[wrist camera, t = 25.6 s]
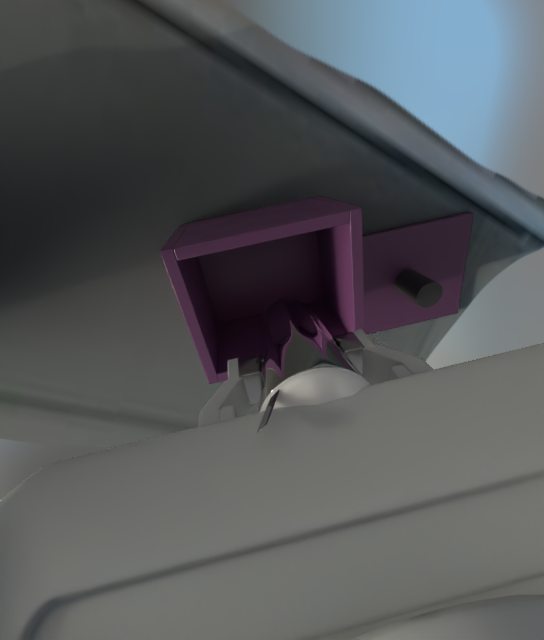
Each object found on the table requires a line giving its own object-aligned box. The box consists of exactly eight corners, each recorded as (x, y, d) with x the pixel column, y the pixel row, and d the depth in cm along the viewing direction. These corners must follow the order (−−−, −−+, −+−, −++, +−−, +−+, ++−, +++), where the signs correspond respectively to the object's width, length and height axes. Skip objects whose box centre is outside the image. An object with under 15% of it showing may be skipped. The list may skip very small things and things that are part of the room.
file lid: (346, 336, 33) (363, 359, 29) (340, 239, 28) (360, 252, 24) (454, 310, 34) (485, 330, 30) (469, 211, 28) (510, 218, 24)
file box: (212, 328, 30) (208, 384, 22) (178, 225, 25) (157, 251, 17) (329, 301, 31) (365, 347, 23) (319, 195, 25) (362, 207, 18)
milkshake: (273, 259, 16) (321, 375, 7) (336, 313, 18) (434, 454, 9) (222, 316, 17) (210, 474, 8) (287, 361, 19) (331, 523, 10)
